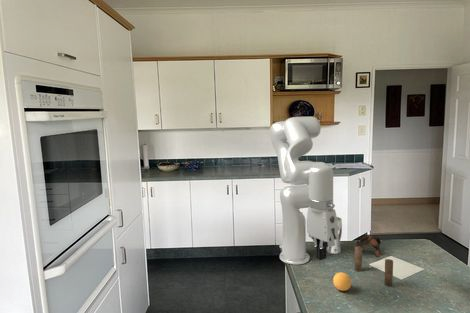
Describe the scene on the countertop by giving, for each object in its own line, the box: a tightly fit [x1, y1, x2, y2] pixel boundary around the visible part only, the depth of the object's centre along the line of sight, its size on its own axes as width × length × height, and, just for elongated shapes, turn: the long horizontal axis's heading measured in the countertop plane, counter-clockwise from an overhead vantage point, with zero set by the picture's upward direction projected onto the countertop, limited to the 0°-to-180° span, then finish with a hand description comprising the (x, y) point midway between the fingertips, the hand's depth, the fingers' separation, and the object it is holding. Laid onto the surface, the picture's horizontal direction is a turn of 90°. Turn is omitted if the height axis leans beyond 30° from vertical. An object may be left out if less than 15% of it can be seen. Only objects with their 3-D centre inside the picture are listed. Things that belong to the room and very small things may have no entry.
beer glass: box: [327, 216, 343, 255], centre depth 142 cm, size 7×7×15 cm
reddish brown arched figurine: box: [355, 235, 382, 258], centre depth 141 cm, size 12×10×8 cm
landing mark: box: [368, 255, 425, 280], centre depth 126 cm, size 14×14×1 cm
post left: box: [354, 246, 363, 272], centre depth 124 cm, size 3×3×9 cm
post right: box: [383, 259, 394, 288], centre depth 113 cm, size 3×3×9 cm
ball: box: [332, 271, 352, 292], centre depth 111 cm, size 6×6×6 cm
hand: (321, 258), depth 105 cm, fingers closed
